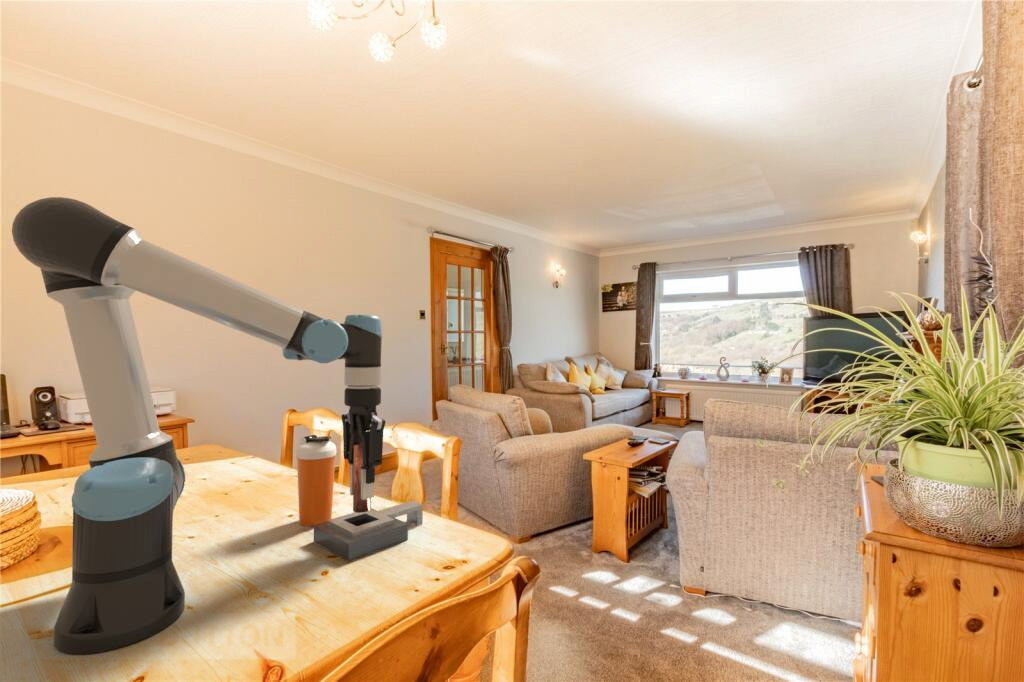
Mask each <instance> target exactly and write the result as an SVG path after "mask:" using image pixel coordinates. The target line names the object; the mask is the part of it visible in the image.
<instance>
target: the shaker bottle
mask: <svg viewBox="0 0 1024 682" xmlns="http://www.w3.org/2000/svg"><path fill="white" fill-rule="evenodd" d="M331 439H332V436H327V435H326V436H325V435H324V436H317V435H316V434H311V435H307V436H303V437H300V439H299V440H298V442H299V443H298V446H297V448H296V449H295V453H296V454H295V458H296V463H297V465H296V467H297V489H298V490H297V491H298V492H297V495H298V520H299V522H298V523H299V525H301V526H304V527H314V525H316V524H320V523H323V522H327V521H328V520H330V519H332V517H333V516H332V515H333V514H332V513H333V499H334V483H335V467H336V466H335V465H336V455H337V446H336V444H335V443H334V442H332V441H330V440H331Z"/></svg>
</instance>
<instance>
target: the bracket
mask: <svg viewBox="0 0 1024 682" xmlns="http://www.w3.org/2000/svg"><path fill="white" fill-rule="evenodd" d="M372 509H373V508H372ZM372 509H370V510H369V511H367V512H362V513H357V512H354V511H353V512H351V513H347V514H345V515H341V516H337V517H334V518H331V519H330V520H328V521H327V525H328V526H330V527H332V528H334V529H336V530H338V531H340V532H342V533H344V534H346V535H348V536H350V537H352V538H354V537H357V536H360V535H363V534H366V533H369V532H372V531H375V530H378V529H381V528H384V527H387V526H390V525H393V524H395V519H393V518H398V517H401V516H404V515H406V522H407V523H408V522H409V523H411V524H413V525H415V526H419V525H423V509H424V505H423V504H422V503H420V502H417V501H415V500H410V501H406V502H403V503H399V504H397V505H393V506H388V507H386V508H383V509H380V510H376V511H374V510H375V509H374V510H372ZM363 518H367V519H369V520H371V521H373V522H370V523H366V524H363V525H360V526H355V525H353V524H350V522H353V521H357V520H360V519H363Z"/></svg>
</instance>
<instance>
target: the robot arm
mask: <svg viewBox="0 0 1024 682" xmlns="http://www.w3.org/2000/svg"><path fill="white" fill-rule="evenodd" d="M11 225H12V226H11V234H12V239H13V242H14V245H15V246H16V248H17V250H18V251H19V253H20V254H21V255H22V256H23V257H24V258H25V259H26V261H29V262H30V263H32V264H33V265H34V266H36V267H38V268H40V272H41V275H42V280H43V283H44V288H45V291H46V295H47V297H48V298H50V299H51V300H52V301H55V302H57V303H58V304H61V306H62V307H63V310H64V314H65V315H64V316H65V319H66V323H67V328H68V331H69V334H70V340H71V345H72V347H73V351H74V354H75V355H74V356H75V360H76V363H77V368H78V372H79V376H80V380H81V383H82V387H83V388H82V389H83V392H84V395H85V400H86V404H87V408H88V412H89V415H90V420H91V425H92V428H93V432H94V436H95V440H96V447H95V449H94V450H93V452H92V453H91V454H90V455H88V463H89V466H90V468H89V469H87V470H85V471H84V472H83V473H81V475H79V477H78V478H77V479H76V481H75V483H74V487H73V493H72V496H71V507H72V555H71V556H72V557H71V560H72V561H71V563H72V564H71V567H72V570H71V571H72V574H71V575H72V576H71V577H72V578H71V585H70V587H69V590H68V592H67V594H66V596H65V599H64V602H63V604H62V607H61V609H60V612H59V614H58V617H57V619H56V622H55V624H54V629H53V646H54V647H55V648H56V649H57V650H58V651H60V652H62V653H65V654H75V655H81V654H82V655H86V654H93V653H94V654H95V653H101V652H106V651H111V650H114V649H119V648H122V647H125V646H129V645H132V644H134V643H137V642H139V641H142V640H144V639H146V638H149V637H151V636H153V635H155V634H157V633H158V632H161V631H162V630H165V628H167V627H169V626H170V625H171V624H173V623H174V622H175V621H177V620H178V618H180V616H181V615H182V614H183V613H184V611H185V604H186V603H185V601H186V600H185V599H186V597H185V595H186V594H185V589H184V586H183V584H182V582H181V578H180V577H179V574H178V572H177V570H176V567H175V565H174V562H173V526H174V525H173V522H174V521H173V520H174V519H173V518H174V516H173V515H174V510H175V508H176V506H177V502H178V500H179V498H180V497H181V496H182V493H183V491H184V488H185V485H186V484H185V482H186V472H185V468H184V465H183V464H182V461H181V460H180V459H179V458H178V457H177V456H178V455H177V452H176V448H175V444H174V443H175V442H174V440H173V436H172V435H170V434H168V433H165V432H163V431H162V429H160V426H159V425H160V424H159V421H158V417H157V413H156V412H157V411H156V409H155V403H154V400H153V395H152V392H151V387H150V383H149V379H148V375H147V374H148V373H147V370H146V366H145V362H144V356H143V354H142V349H141V344H140V339H139V335H138V332H137V327H136V324H135V319H134V315H133V311H132V307H131V303H130V298H131V296H133V294H134V293H135V292H138V293H141V294H144V295H147V296H149V297H151V298H154V299H156V300H160V301H162V302H164V303H167V304H168V305H169V304H170V305H172V306H175V307H177V308H180V309H182V310H185V311H188V312H189V313H193V314H195V315H198V316H200V317H203V318H204V319H208V320H211V321H213V322H216V323H219V324H221V325H223V326H226V327H229V328H232V329H234V330H236V331H239V332H241V333H244V334H247V335H249V336H252V337H255V338H256V339H260V340H262V341H265V342H267V343H269V344H272V345H275V346H277V347H279V348H282V356H283V358H284V359H286V360H290V361H291V360H292V361H293V360H295V361H313V362H317V363H319V364H328V363H331V362H334V361H336V360H344V386H346V388H345V389H344V395H343V396H344V400H343V401H344V405H345V406H347V407H349V410H348V412H347V413H344V414H342V415H341V421H342V429H343V430H342V433H343V436H342V437H343V438H342V439H343V440H342V441H343V458H344V460H347V462H348V464H349V495H350V496H353V473H354V444H357V443H362V452H363V463H364V466H361V499H362V500H364V499H368V498H371V499H372V498H374V497H375V482H376V479H375V478H376V477H375V476H376V475H375V474H376V467H377V466H382V464H383V447H384V445H383V443H384V429H385V425H386V420H385V419H384V418H382V419H380V418H379V416H378V411H377V406H379V405H380V404H382V389H381V387H379V386H380V385H381V384H382V344H383V343H382V339H383V335H382V334H383V333H382V322H381V318H380V317H379V316H377V315H375V314H374V315H372V314H348V315H346V316H345V317H344V318H345V319H344V323H339V322H337V321H334V320H332V319H327V318H323V317H320V316H318V315H315V314H313V313H311V312H309V311H306V310H304V309H302V308H299V307H298V306H296V305H292V304H290V303H288V302H286V301H284V300H281V299H279V298H277V297H275V296H272V295H270V294H268V293H265V292H264V291H261V290H259V289H256V288H254V287H252V286H251V285H248V284H245V283H243V282H240V281H239V280H236V279H233V278H232V277H229V276H227V275H224V274H223V273H220V272H218V271H215V270H213V269H211V268H209V267H206V266H203V265H201V264H199V263H197V262H196V261H192V260H190V259H188V258H185V257H183V256H181V255H179V254H177V253H174V252H171V251H169V250H168V249H164V248H163V247H160V246H158V245H156V244H154V243H151V242H149V241H147V240H144V238H142V236H141V233H140V232H139V230H138V229H136V228H134V227H132V226H130V225H127V224H125V223H122V222H121V221H118V220H116V219H115V218H113V217H111V216H109V215H108V214H106V213H104V212H102V211H100V210H99V209H97V208H95V207H94V206H92V205H90V204H88V203H86V202H84V201H81V200H77V199H73V198H70V197H60V196H59V197H58V196H54V197H53V196H52V197H51V196H50V197H46V198H45V197H44V198H40V199H37V200H35V201H32V202H30V203H28V204H26V205H25V206H24V207H22V208H21V209H20V210H19V212H18V213H17V214H16V215H15V217H14V220H13V222H12V224H11Z"/></svg>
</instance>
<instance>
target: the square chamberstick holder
mask: <svg viewBox="0 0 1024 682" xmlns="http://www.w3.org/2000/svg"><path fill="white" fill-rule="evenodd" d="M371 509H372V510H374V511H377V510H376V509H374V508H372V507H371ZM393 519H395V524H393V525H390V526H387V527H384V528H381V529H378V530H375V531H372V532H369V533H366V534H363V535H360V536H357V537H354V538H352V537H350V536H348V535H346V534H344V533H342V532H340V531H338V530H336V529H334V528H332V527H330V526H328V525H327V522H323V523H320V524H316V525H314V526H313V542H314V543H315V544H317V545H318V546H320V547H322V548H324V549H325V550H327V551H329V552H331V553H332V554H334V555H335V556H337V557H339V558H341V559H342V560H345V561H347V562H348V563H349V562H352V561H354V560H357V559H360V558H363V557H365V556H367V555H370V554H374V553H377V552H379V551H381V550H385V549H386V548H390V547H392V546H395V545H397V544H401V543H403V542H405V541H408V540H409V526H408V525H409V523H408V522H405V521H403V520H400V519H399V518H397V517H395V518H393ZM370 522H373V521H371V520H369V519H367V518H363V519H360V520H357V521H353V522H350V524H353V525H355V526H360V525H363V524H366V523H370Z"/></svg>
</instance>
